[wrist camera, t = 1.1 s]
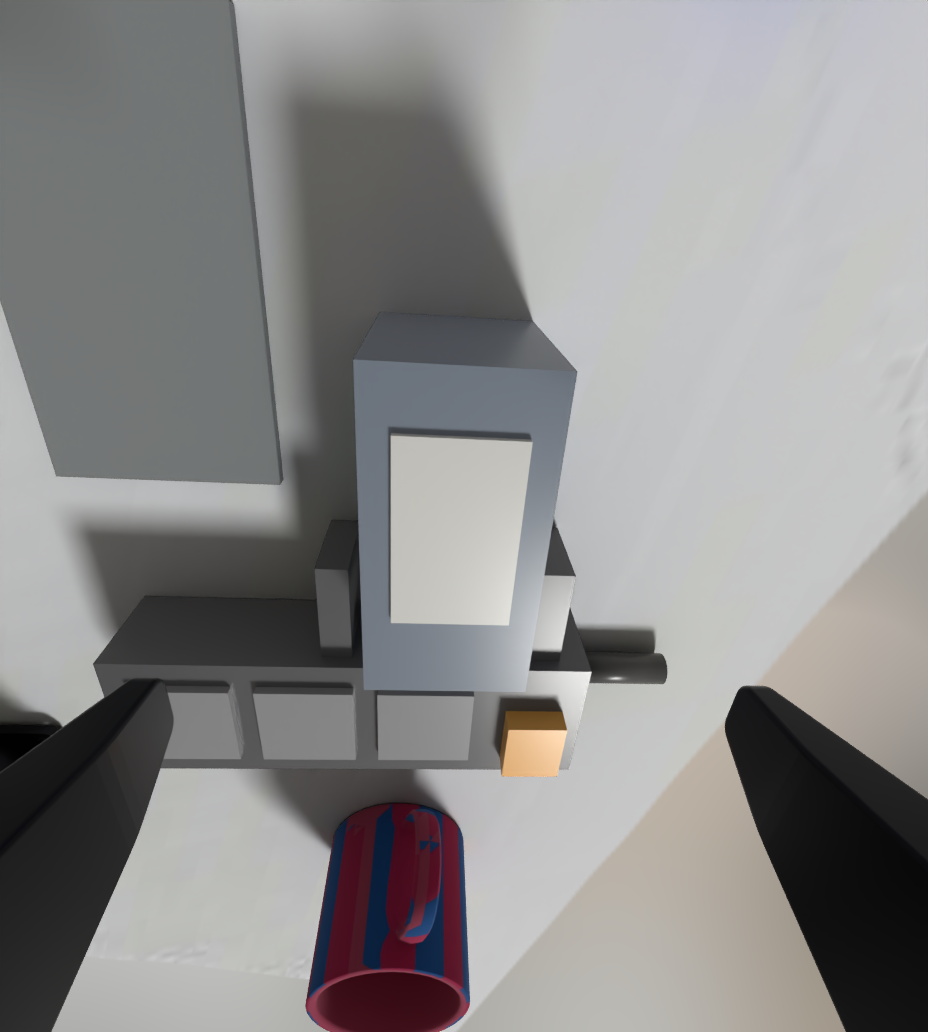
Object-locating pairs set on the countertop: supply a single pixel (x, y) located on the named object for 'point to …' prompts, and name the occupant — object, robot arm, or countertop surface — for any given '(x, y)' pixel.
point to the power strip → (352, 682)
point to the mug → (392, 925)
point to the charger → (455, 496)
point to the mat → (134, 240)
